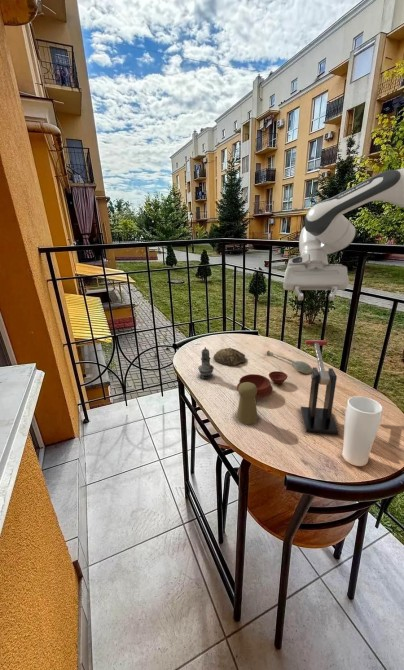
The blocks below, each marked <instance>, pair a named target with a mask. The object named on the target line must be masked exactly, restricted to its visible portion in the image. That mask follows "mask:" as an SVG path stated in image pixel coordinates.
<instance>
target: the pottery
mask: <svg viewBox="0 0 404 670" xmlns="http://www.w3.org/2000/svg"><path fill="white" fill-rule="evenodd" d="M287 380H288V374H287V373H285V372H284V371H280V370H279V371H271V372H269V373H268V377H266V376H265V375H262V374H256V373H253V374H252V373H251V374H246V375H243V376H241V377H240V378H239V380H238V383H237V385H236V391H238V388H239V386H240V384H241V383H244V382H250V383H253V384H255V386H256V387H257V394H256V395H255V399H261V398H266V397H268V396H270V395H271V394H272V393H273V390H274V388H273V385H275V386H281V385H282V384H283V383H284V382H285V381H287ZM271 381H272V383H273V385H272V383H271Z"/></svg>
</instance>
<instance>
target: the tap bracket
mask: <svg viewBox="0 0 404 670" xmlns="http://www.w3.org/2000/svg"><path fill="white" fill-rule="evenodd" d="M327 371H328V373H329V377H330V380H329V384H328V385H325V393H324V401H323V407H317V404H318V403H317V402H318V396H319V386H320V384H319V380H320V374H319V368H318V367H312V372H311V376H310V379H311V381H310V390H309V398H308V399H309V400H308V406H300V412H301V413H300V414H301V417H302V421H303V425H304V430H305V433H311V434H322V435H331V436H332V435H333V436H334V435H335V436H338V435H339V429H338V426H337V424H336V421H335V419H334V416H333V414H332V413H333V407H334V398H335V391H336V384H337V380H338V378H337V375H336V372H335V370H334V368H331V367H329V368H328V370H327Z"/></svg>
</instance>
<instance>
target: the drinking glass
mask: <svg viewBox="0 0 404 670" xmlns="http://www.w3.org/2000/svg"><path fill="white" fill-rule="evenodd" d="M382 416H383V406H382V404H381V403H380V402H379V401H377V400H375V399H373V398H370V397H367V396H361V395H355V396H351V397H349V398H348V399H347V403H346V406H345V413H344V424H343V426H344V427H343V442H342V443H343V444H342V453H341V454H342V458H343V459H344V461H346V462H347V463H348V464H350V465H352V466H356V467H363V466H366V465H367V464H368V462H369V458H370V454H371V452H372V448H373V446H374V443H375V439H376V437H377V435H378V431H379V428H380V425H381V422H382Z"/></svg>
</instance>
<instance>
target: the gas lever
mask: <svg viewBox="0 0 404 670" xmlns="http://www.w3.org/2000/svg"><path fill="white" fill-rule="evenodd" d="M304 345H305V346H314V350H315V355H316V360H317V365H318V372H319V374H320V380H319V386H320V385H322V386H326V385H328V384H329V380H330V377H329V373H328V370H326V369H325V366H324V365H325V364H324V361H323V356H322V353H321V347H320V346H328V340H315V339H305V341H304Z"/></svg>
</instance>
